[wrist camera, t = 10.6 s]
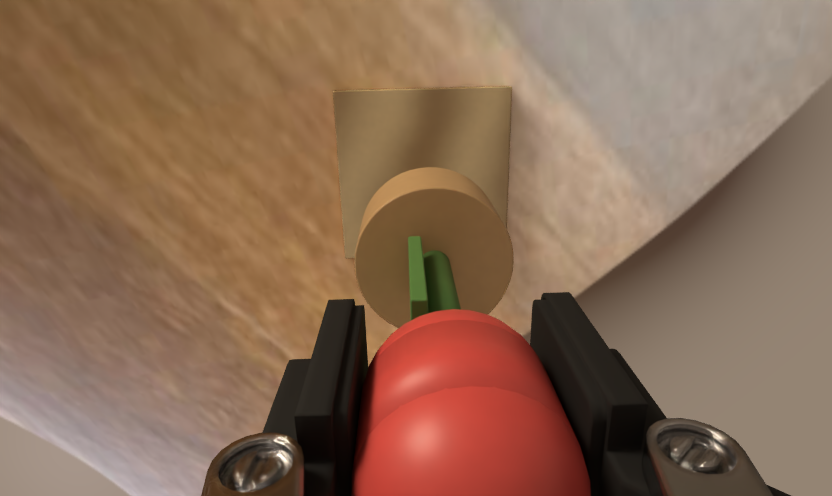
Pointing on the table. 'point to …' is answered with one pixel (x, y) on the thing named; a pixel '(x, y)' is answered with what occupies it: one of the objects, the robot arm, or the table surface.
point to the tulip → (452, 355)
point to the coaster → (419, 142)
